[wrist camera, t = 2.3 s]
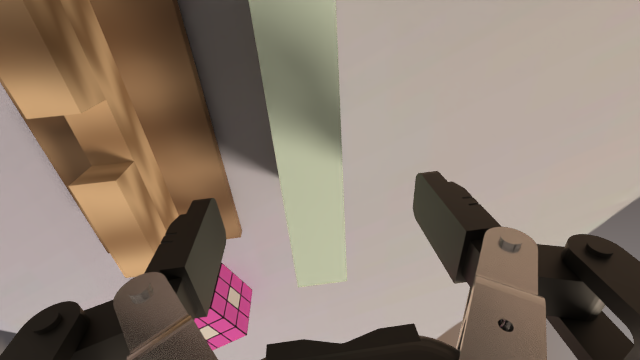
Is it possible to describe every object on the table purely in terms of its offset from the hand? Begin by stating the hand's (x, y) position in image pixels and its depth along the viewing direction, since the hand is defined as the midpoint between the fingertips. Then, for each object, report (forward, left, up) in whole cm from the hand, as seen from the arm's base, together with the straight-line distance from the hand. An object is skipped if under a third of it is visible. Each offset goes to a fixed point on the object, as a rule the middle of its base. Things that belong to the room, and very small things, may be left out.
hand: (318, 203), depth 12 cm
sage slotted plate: (0, 0, -14) cm, 14 cm away
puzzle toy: (+21, -12, -15) cm, 28 cm away
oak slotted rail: (0, -14, -14) cm, 20 cm away
